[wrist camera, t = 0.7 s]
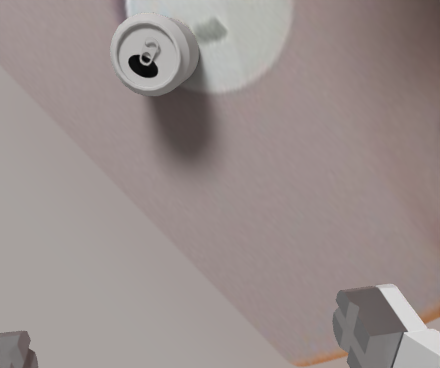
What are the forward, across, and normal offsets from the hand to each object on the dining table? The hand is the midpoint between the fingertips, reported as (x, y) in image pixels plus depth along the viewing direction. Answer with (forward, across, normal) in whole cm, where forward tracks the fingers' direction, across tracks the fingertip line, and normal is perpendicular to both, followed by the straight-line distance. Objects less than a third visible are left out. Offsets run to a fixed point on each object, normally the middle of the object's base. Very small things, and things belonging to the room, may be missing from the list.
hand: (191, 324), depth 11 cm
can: (+42, -1, +2) cm, 42 cm away
